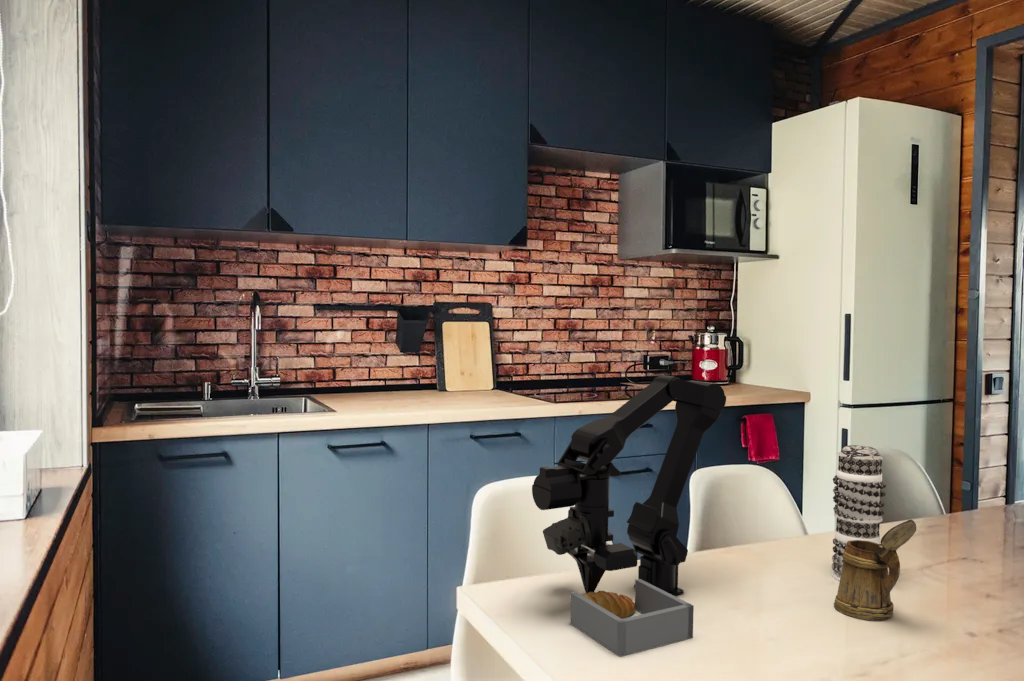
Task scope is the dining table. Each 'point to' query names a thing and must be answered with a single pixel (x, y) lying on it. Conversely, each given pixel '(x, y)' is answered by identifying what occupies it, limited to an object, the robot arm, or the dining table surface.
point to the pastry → (613, 602)
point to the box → (635, 621)
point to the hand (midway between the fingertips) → (589, 593)
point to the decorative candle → (856, 499)
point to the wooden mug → (871, 574)
